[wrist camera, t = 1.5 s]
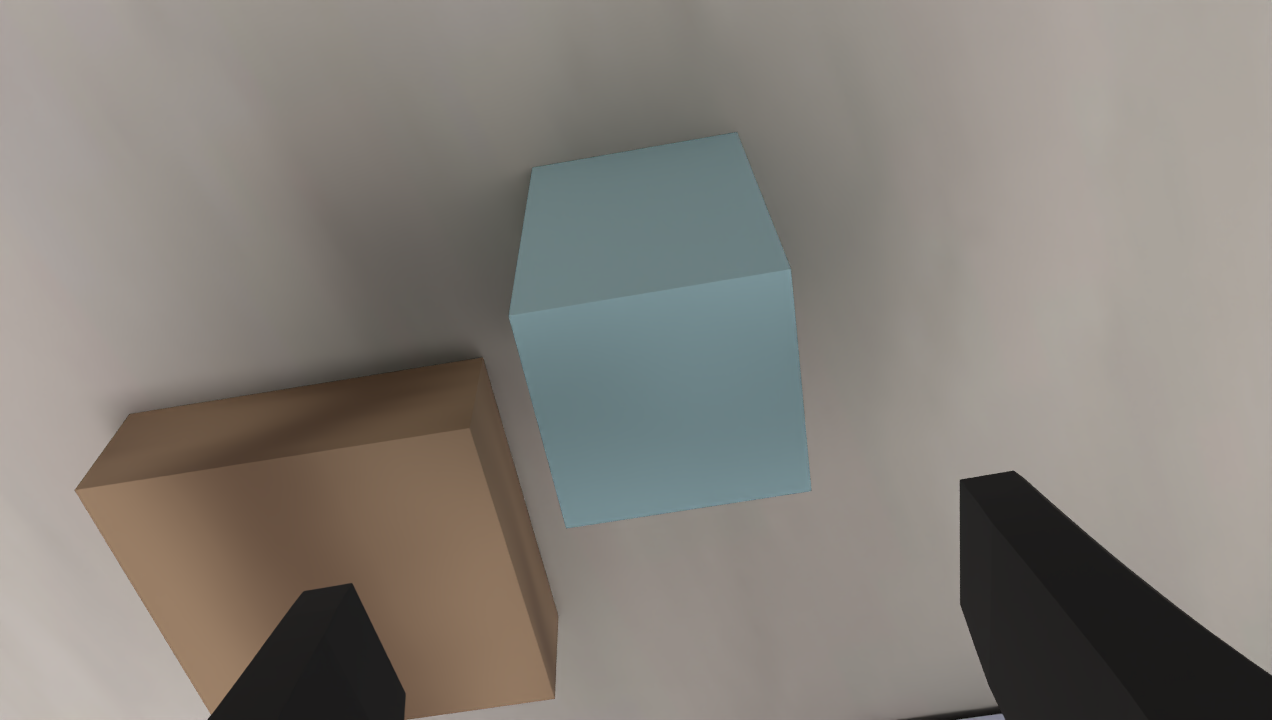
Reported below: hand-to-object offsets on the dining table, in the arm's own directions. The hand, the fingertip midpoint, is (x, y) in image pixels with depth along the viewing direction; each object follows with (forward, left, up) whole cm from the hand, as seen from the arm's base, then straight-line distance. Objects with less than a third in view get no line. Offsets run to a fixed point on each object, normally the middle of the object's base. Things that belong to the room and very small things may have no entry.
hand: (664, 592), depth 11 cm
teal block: (0, 0, -10) cm, 10 cm away
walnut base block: (+8, +6, -10) cm, 14 cm away
